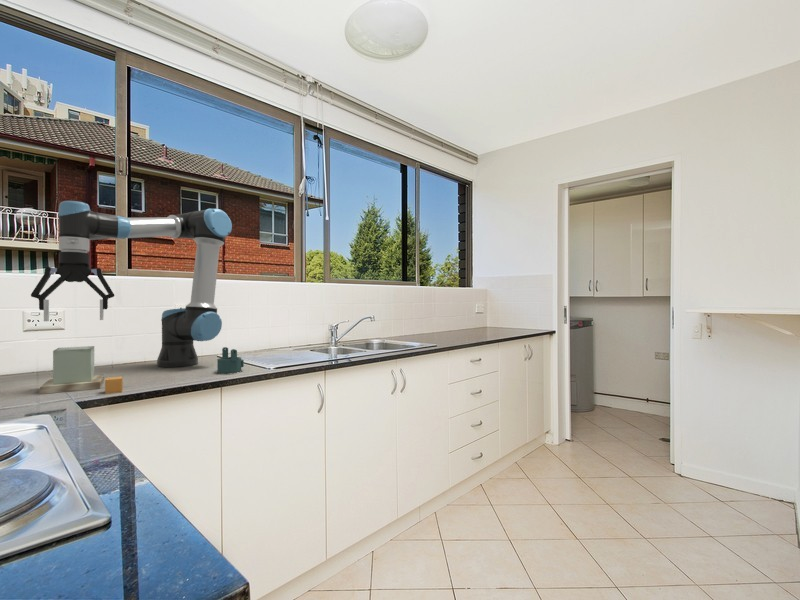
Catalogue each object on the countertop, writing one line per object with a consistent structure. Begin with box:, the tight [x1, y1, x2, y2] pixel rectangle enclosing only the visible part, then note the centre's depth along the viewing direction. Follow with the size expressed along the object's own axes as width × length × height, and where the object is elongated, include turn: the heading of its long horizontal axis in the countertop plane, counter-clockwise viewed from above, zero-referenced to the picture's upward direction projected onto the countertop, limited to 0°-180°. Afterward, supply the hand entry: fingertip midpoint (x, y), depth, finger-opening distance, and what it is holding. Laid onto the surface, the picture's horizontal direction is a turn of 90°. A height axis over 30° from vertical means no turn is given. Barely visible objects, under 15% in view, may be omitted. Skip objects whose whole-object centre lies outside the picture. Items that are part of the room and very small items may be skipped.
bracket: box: [217, 346, 245, 375], centre depth 156 cm, size 9×9×9 cm
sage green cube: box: [52, 345, 95, 385], centre depth 128 cm, size 9×9×10 cm
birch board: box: [39, 374, 105, 395], centre depth 128 cm, size 14×14×2 cm
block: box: [104, 376, 124, 394], centre depth 122 cm, size 4×4×4 cm
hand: (74, 320), depth 128 cm, fingers open, 13 cm apart
